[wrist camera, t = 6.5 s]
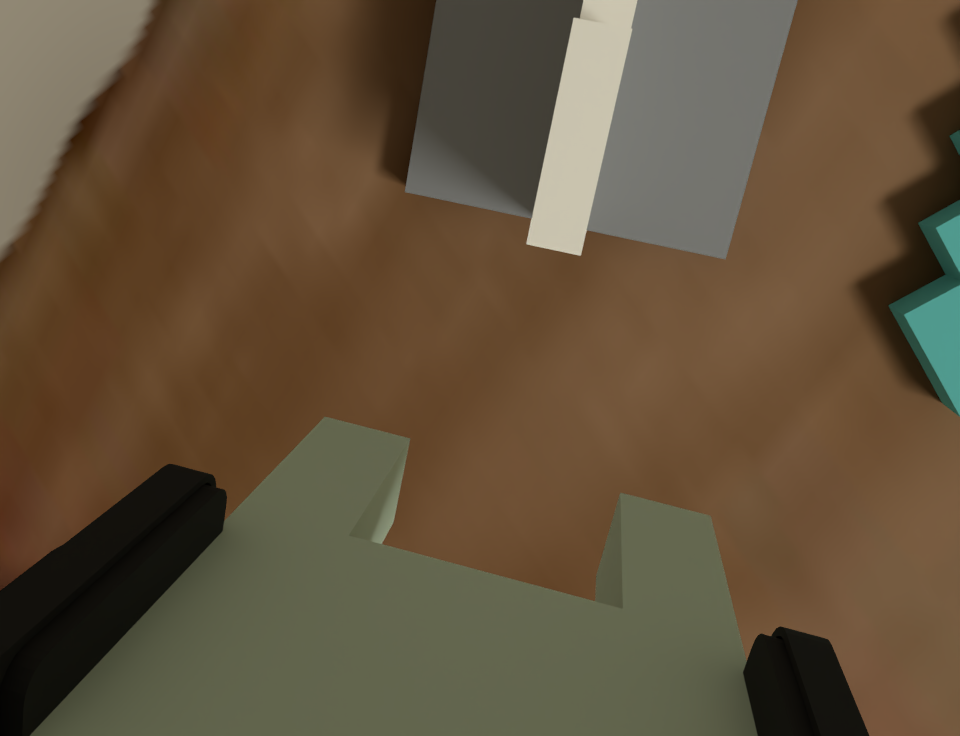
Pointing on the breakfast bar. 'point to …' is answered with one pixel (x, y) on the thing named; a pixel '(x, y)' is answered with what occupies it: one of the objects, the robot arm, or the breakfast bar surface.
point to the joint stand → (599, 114)
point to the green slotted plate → (417, 626)
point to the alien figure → (938, 306)
